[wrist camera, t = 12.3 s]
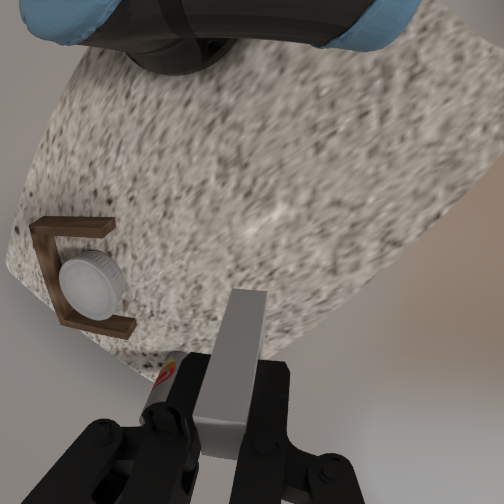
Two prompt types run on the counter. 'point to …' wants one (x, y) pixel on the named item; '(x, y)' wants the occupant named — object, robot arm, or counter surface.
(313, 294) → the counter surface
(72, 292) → the ramekin
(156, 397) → the lotion bottle
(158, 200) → the counter surface
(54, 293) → the walnut box
